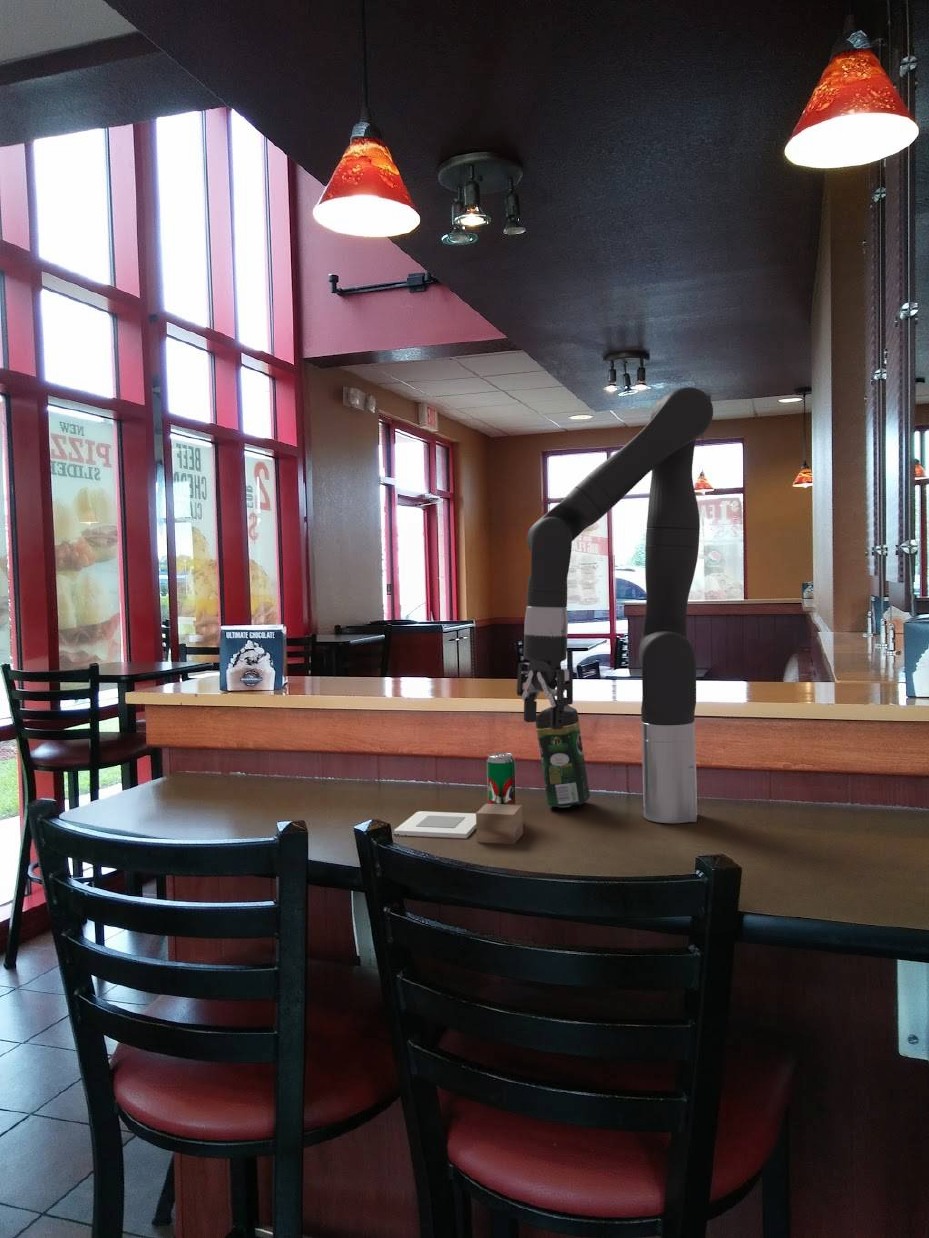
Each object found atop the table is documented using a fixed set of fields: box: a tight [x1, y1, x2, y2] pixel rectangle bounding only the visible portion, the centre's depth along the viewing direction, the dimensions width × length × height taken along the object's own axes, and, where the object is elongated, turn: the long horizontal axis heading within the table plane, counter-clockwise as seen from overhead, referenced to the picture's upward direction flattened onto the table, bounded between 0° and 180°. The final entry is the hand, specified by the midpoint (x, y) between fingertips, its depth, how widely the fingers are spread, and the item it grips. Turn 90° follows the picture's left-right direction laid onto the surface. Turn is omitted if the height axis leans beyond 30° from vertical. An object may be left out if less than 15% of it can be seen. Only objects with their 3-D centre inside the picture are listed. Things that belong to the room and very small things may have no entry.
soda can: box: [486, 752, 517, 805], centre depth 164 cm, size 5×5×12 cm
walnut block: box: [475, 803, 524, 845], centre depth 154 cm, size 6×6×5 cm
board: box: [393, 810, 476, 839], centre depth 163 cm, size 13×13×1 cm
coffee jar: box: [535, 705, 591, 808], centre depth 174 cm, size 10×8×19 cm
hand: (542, 725), depth 161 cm, fingers open, 8 cm apart
